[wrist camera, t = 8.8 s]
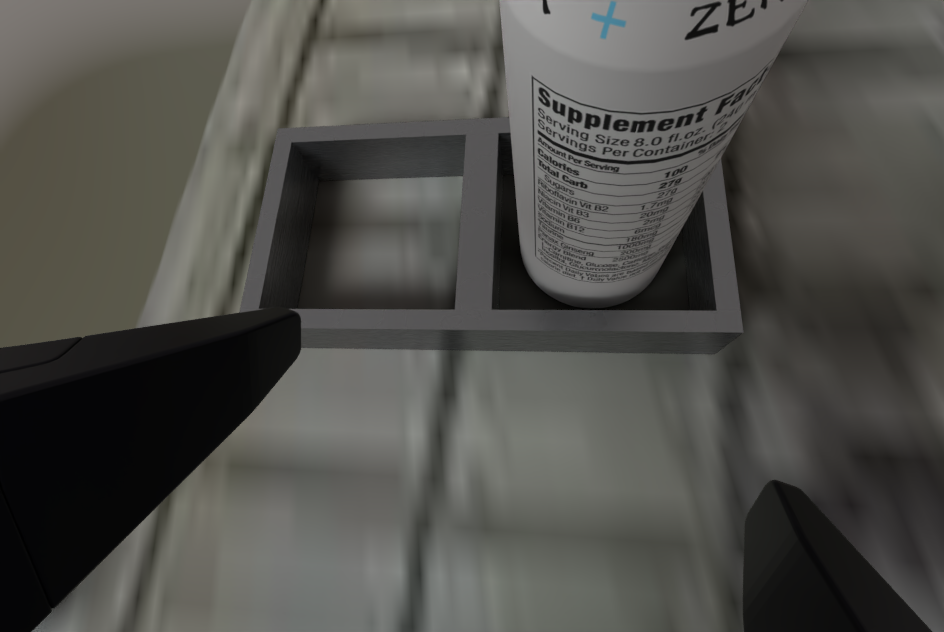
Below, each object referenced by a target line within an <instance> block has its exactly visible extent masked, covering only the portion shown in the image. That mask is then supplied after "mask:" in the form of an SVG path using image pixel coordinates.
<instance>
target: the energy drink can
mask: <svg viewBox="0 0 944 632" xmlns="http://www.w3.org/2000/svg"><path fill="white" fill-rule="evenodd" d="M807 1H808V0H500V12H501V24H502V36H503V48H504V60H505V72H506V84H507V96H508V108H509V120H510V132H511V144H512V156H513V168H514V180H515V192H516V204H517V216H518V228H519V240H520V252H521V256H522V260H523V264H524V266H525V268H526V270H527V272H528V274H529V276H530V277H531V278H532V280H533V281H534V282H535V284H536V285H537V286H538V287H539V288H540V289H542V290H543V291H544V292H545V293H546V294H547V295H549V296H551V297H553V298H554V299H556V300H558V301H560V302H562V303H565V304H568V305H571V306H575V307H581V308H588V309H589V308H605V307H610V306H615V305H618V304H621V303H623V302H625V301H628V300H630V299H632V298H633V297H635V296H636V295H638V294H639V293H641V292H642V291H643V290H644V289H645V288H646V287H647V286H648V285H649V284H650V283H651V282H652V280H653V279H654V277H655V275H656V274H657V272H658V271H659V269H660V267H661V265H662V264H663V262H664V260H665V258H666V256H667V254H668V253H669V251H670V249H671V247H672V245H673V244H674V242H675V240H676V238H677V236H678V235H679V233H680V231H681V229H682V227H683V226H684V224H685V222H686V220H687V218H688V217H689V215H690V213H691V211H692V209H693V207H694V206H695V204H696V202H697V200H698V198H699V197H700V195H701V193H702V191H703V189H704V188H705V186H706V184H707V182H708V180H709V179H710V177H711V175H712V173H713V171H714V170H715V168H716V166H717V164H718V162H719V160H720V159H721V157H722V155H723V153H724V151H725V150H726V148H727V146H728V144H729V142H730V141H731V139H732V137H733V135H734V133H735V132H736V130H737V128H738V126H739V124H740V122H741V121H742V119H743V117H744V115H745V113H746V112H747V110H748V108H749V106H750V104H751V103H752V101H753V99H754V97H755V95H756V94H757V92H758V90H759V88H760V86H761V85H762V83H763V81H764V79H765V77H766V75H767V74H768V72H769V70H770V68H771V66H772V65H773V63H774V61H775V59H776V57H777V56H778V54H779V52H780V50H781V48H782V47H783V45H784V43H785V41H786V39H787V38H788V36H789V34H790V32H791V30H792V28H793V27H794V25H795V23H796V21H797V19H798V18H799V16H800V14H801V12H802V10H803V9H804V7H805V5H806V3H807Z"/></svg>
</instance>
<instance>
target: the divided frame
mask: <svg viewBox="0 0 944 632" xmlns="http://www.w3.org/2000/svg"><path fill="white" fill-rule="evenodd" d="M503 174H514V168H513V156H512V144H511V132H510V120H509V117H503V118H483V119H463V120H442V121H422V122H402V123H381V124H361V125H341V126H320V127H300V128H280V129H278V131H277V136H276V140H275V145H274V150H273V155H272V159H271V164H270V169H269V174H268V178H267V183H266V188H265V193H264V198H263V202H262V207H261V212H260V217H259V221H258V226H257V231H256V236H255V241H254V245H253V250H252V255H251V260H250V264H249V269H248V274H247V279H246V284H245V288H244V293H243V298H242V303H241V307H240V312H239V313H241V312H248V311H254V310H261V309H268V308H274V307H284V308H287V309H290V310H293V311H295V312H297V313H298V314H299V315H300V317H301V348H356V349H421V350H486V351H551V352H616V353H681V354H715V353H717V352H718V351H719V350H721V349H722V348H724V347H725V346H726V345H728V344H729V343H730V342H732V341H733V340H734V339H736V338H737V337H738V336H740V335H741V334H742V333H744V332H743V325H742V317H741V309H740V301H739V294H738V286H737V278H736V271H735V263H734V255H733V247H732V240H731V232H730V224H729V217H728V209H727V201H726V194H725V186H724V178H723V170H722V163H721V159H720V160H719V162H718V164H717V166H716V168H715V170H714V171H713V173H712V175H711V177H710V179H709V180H708V182H707V184H706V186H705V188H704V189H703V191H702V193H701V195H700V197H699V198H698V200H697V202H696V204H695V206H694V207H693V209H692V211H691V213H690V215H689V217H688V218H687V220H686V222H685V224H684V226H683V227H682V234H683V244H684V255H685V265H686V276H687V286H688V297H689V307H690V311H680V310H499V283H500V254H501V225H502V196H503ZM441 176H463V189H462V205H461V220H460V236H459V252H458V267H457V283H456V299H455V310H434V309H297V307H298V301H299V295H300V289H301V284H302V278H303V272H304V266H305V260H306V254H307V248H308V243H309V237H310V231H311V225H312V219H313V213H314V207H315V202H316V196H317V190H318V184H319V181H321V180H351V179H381V178H411V177H441Z"/></svg>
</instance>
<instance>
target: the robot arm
mask: <svg viewBox="0 0 944 632" xmlns="http://www.w3.org/2000/svg"><path fill="white" fill-rule="evenodd" d="M300 350H301V317H300V315H299V314H298V313H297V312H295V311H293V310H290V309H287V308H284V307H274V308H268V309H261V310H254V311H248V312H241V313H234V314H228V315H221V316H215V317H208V318H201V319H195V320H188V321H182V322H175V323H168V324H162V325H155V326H149V327H142V328H135V329H129V330H123V331H116V332H109V333H103V334H96V335H90V336H85V337H84V338H81V337H75V338H69V339H62V340H56V341H48V342H42V343H35V344H27V345H20V346H12V347H3V348H0V632H31V631H32V630H33V629H35V628H36V627H37V626H38V625H39V624H40V623H41V622H42V621H43V620H44V619H45V618H46V617H47V616H48V615H49V614H50V613H51V611H52V608H55V607H56V606H57V605H58V604H59V603H60V602H61V601H62V600H63V599H64V598H65V597H66V596H67V595H68V594H69V593H70V592H71V591H72V590H73V589H74V588H75V587H77V586H78V585H79V584H80V583H81V582H82V581H83V580H84V579H85V578H86V577H87V576H88V575H89V574H90V573H91V572H92V571H93V570H94V569H95V568H96V567H97V566H98V565H99V564H100V563H101V562H102V561H103V560H104V559H105V558H106V557H107V556H108V555H109V554H110V553H111V552H112V551H113V550H114V549H115V548H116V547H117V546H118V545H119V544H120V543H121V542H122V541H123V540H124V539H125V538H126V537H127V536H128V535H129V534H130V533H131V532H132V531H133V530H134V529H135V528H136V527H137V526H138V525H139V524H140V523H141V522H142V521H143V520H144V519H145V518H146V517H147V516H148V515H149V514H150V513H151V512H152V511H153V510H154V509H155V508H156V507H157V506H158V505H159V504H160V503H161V502H162V501H163V500H164V499H165V498H166V497H167V496H168V495H169V494H170V493H171V492H172V491H173V490H174V489H175V488H176V487H177V486H178V485H180V484H181V483H182V482H183V481H184V480H185V479H186V478H187V477H188V476H189V475H190V474H191V473H192V472H193V471H194V470H195V469H196V468H197V467H198V466H199V465H200V464H201V463H202V462H203V461H204V460H205V459H206V458H207V457H208V456H209V455H210V454H211V453H212V452H213V451H214V450H215V449H216V448H217V447H218V446H219V445H220V444H221V443H222V442H223V441H224V440H225V439H226V438H227V437H228V436H229V435H230V434H231V433H232V432H233V431H234V430H235V429H236V428H237V427H238V426H239V425H240V424H241V423H242V422H243V421H244V420H245V419H246V418H247V417H248V416H249V415H250V414H251V413H252V412H253V411H254V409H255V408H256V407H257V406H258V405H259V404H260V403H261V401H262V400H263V399H264V398H265V397H266V395H267V394H268V393H269V392H270V390H271V389H272V388H273V387H274V386H275V384H276V383H277V382H278V381H279V380H280V378H281V377H282V376H283V375H284V373H285V372H286V371H287V370H288V369H289V367H290V366H291V365H292V364H293V362H294V361H295V360H296V359H297V357H298V355H299V353H300ZM743 625H744V632H932V631H931V630H930V629H929V628H928V626H927V625H926V624H925V623H924V622H923V621H922V620H921V619H920V618H919V617H918V616H917V615H916V613H915V612H914V611H913V610H912V609H911V608H910V607H909V606H908V605H907V604H906V603H905V602H904V600H903V599H902V598H901V597H900V596H899V595H898V594H897V593H896V592H895V591H894V590H893V589H892V587H891V586H890V585H889V584H888V583H887V582H886V581H885V580H884V579H883V578H882V577H881V576H880V574H879V573H878V572H877V571H876V570H875V569H874V568H873V567H872V566H871V565H870V564H869V563H868V561H867V560H866V559H865V558H864V557H863V556H862V555H861V554H860V553H859V552H858V551H857V550H856V548H855V547H854V546H853V545H852V544H851V543H850V542H849V541H848V540H847V539H846V538H845V537H844V535H843V534H842V533H841V532H840V531H839V530H838V529H837V528H836V527H835V526H834V525H833V524H832V523H831V521H830V520H829V519H828V518H827V517H826V516H825V515H824V514H823V513H822V512H821V511H820V510H819V508H818V507H817V506H816V505H815V504H814V503H813V502H812V501H811V500H810V499H809V498H808V497H807V495H806V494H805V493H804V492H803V491H802V490H801V489H799V488H797V487H795V486H792V485H789V484H786V483H783V482H780V481H778V480H772V481H769V482H768V483H767V484H766V485H765V487H764V488H763V490H762V492H761V493H760V495H759V496H758V498H757V499H756V501H755V503H754V504H753V506H752V507H751V509H750V511H749V512H748V514H747V517H746V521H745V529H744V569H743Z"/></svg>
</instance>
